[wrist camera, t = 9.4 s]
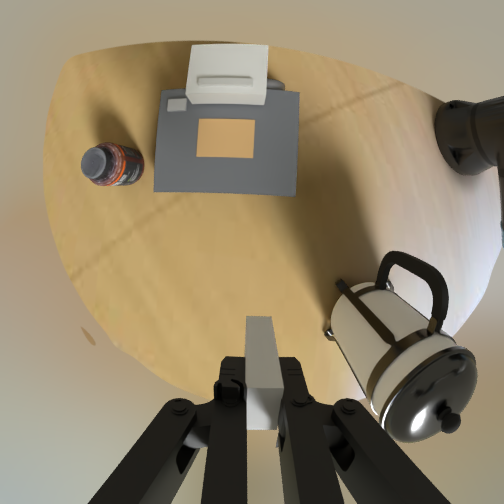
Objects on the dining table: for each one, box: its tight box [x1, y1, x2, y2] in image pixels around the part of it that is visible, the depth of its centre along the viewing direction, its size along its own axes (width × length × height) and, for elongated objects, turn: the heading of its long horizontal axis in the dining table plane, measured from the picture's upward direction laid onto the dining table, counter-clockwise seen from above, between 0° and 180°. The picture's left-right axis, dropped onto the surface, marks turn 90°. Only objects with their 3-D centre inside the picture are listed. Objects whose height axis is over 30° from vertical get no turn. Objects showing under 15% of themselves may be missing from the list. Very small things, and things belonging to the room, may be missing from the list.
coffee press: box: [324, 251, 477, 443], centre depth 30 cm, size 17×16×30 cm
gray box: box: [154, 79, 300, 197], centre depth 34 cm, size 18×16×8 cm
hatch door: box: [185, 44, 268, 105], centre depth 27 cm, size 9×7×5 cm
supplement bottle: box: [81, 142, 144, 186], centre depth 33 cm, size 6×6×11 cm
